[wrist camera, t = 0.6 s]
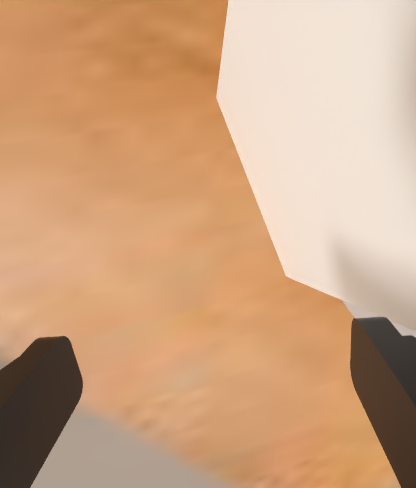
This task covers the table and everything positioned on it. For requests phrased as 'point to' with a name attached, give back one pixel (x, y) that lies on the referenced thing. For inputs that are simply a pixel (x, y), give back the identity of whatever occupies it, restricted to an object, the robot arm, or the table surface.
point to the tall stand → (330, 140)
